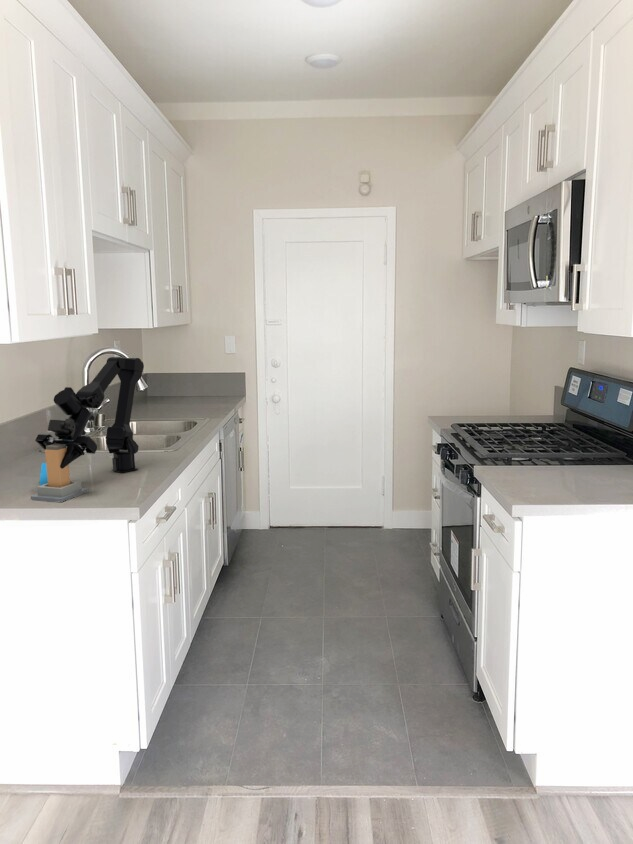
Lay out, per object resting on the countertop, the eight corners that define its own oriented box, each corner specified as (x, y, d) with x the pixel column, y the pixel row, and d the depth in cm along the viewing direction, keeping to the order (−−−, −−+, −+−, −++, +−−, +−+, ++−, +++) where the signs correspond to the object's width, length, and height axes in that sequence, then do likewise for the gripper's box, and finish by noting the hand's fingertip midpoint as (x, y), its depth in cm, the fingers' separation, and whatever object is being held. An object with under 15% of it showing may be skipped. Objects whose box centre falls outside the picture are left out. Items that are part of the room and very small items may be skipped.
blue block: (65, 502, 214) (66, 474, 230) (63, 483, 211) (64, 456, 227) (41, 504, 212) (44, 476, 228) (39, 485, 209) (42, 458, 225)
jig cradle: (58, 489, 212) (57, 478, 211) (88, 491, 208) (87, 480, 208) (30, 499, 201) (29, 488, 200) (61, 502, 197) (60, 490, 196)
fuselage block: (58, 485, 207) (54, 443, 205) (70, 486, 205) (67, 444, 203) (48, 489, 203) (44, 446, 201) (60, 490, 201) (57, 447, 199)
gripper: (36, 407, 207) (13, 450, 198) (88, 409, 201) (66, 454, 192) (56, 428, 215) (34, 470, 207) (106, 431, 209) (86, 474, 201)
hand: (54, 467), depth 202 cm, fingers closed on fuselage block, 4 cm apart
